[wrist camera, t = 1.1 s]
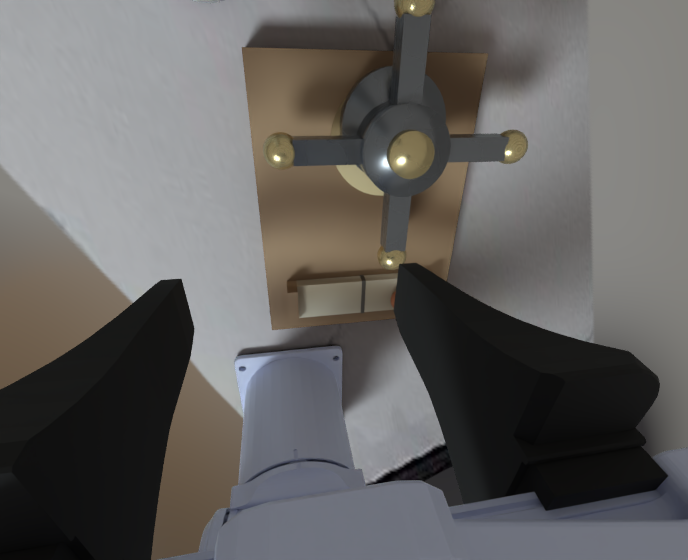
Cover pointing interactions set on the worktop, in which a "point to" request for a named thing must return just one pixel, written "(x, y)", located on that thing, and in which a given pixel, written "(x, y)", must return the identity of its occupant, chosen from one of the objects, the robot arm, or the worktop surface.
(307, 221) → the valve wheel board
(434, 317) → the robot arm
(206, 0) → the beverage can
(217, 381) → the worktop surface
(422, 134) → the capstan
